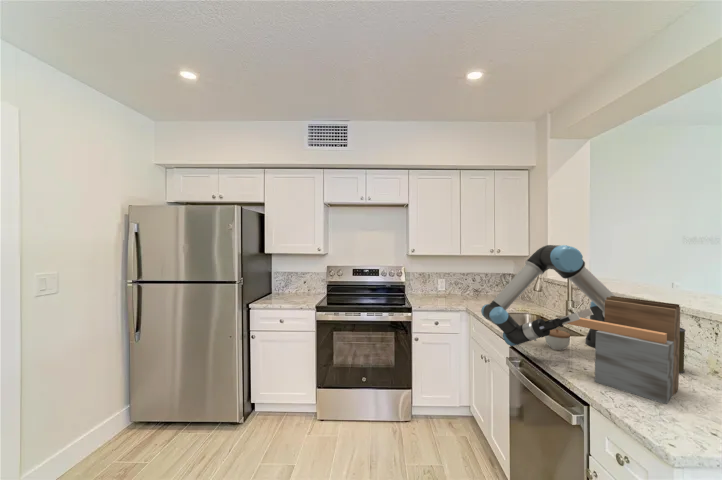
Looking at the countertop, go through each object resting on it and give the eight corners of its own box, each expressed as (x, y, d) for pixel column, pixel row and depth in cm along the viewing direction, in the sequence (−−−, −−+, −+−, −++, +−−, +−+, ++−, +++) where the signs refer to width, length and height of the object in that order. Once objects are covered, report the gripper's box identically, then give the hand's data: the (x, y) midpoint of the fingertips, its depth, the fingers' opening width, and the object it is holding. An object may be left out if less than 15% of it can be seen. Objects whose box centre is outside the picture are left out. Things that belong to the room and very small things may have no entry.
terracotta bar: (569, 322, 135) (569, 315, 135) (666, 342, 111) (667, 333, 111) (566, 323, 133) (566, 316, 133) (664, 343, 109) (664, 334, 109)
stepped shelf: (611, 370, 133) (612, 295, 133) (678, 389, 117) (680, 303, 117) (594, 381, 122) (596, 299, 122) (666, 404, 106) (668, 309, 106)
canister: (647, 361, 143) (648, 316, 143) (679, 366, 138) (680, 320, 138) (654, 370, 134) (655, 322, 134) (689, 376, 129) (690, 326, 129)
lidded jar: (575, 351, 155) (575, 331, 155) (556, 352, 153) (556, 333, 153) (557, 344, 166) (557, 325, 166) (539, 345, 164) (539, 326, 164)
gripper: (553, 333, 149) (601, 318, 135) (527, 342, 134) (577, 327, 120) (545, 317, 152) (591, 301, 138) (518, 325, 137) (566, 308, 123)
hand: (585, 313), depth 129 cm, fingers open, 13 cm apart
